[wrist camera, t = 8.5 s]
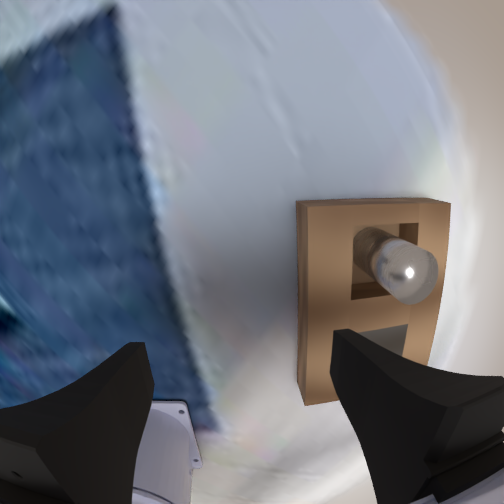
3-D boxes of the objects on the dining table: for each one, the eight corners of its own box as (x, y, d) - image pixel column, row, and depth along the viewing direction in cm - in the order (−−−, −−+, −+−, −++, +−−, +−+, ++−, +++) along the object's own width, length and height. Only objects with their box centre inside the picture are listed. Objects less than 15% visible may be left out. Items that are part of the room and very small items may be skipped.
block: (407, 361, 24) (422, 380, 21) (297, 381, 23) (304, 405, 21) (426, 197, 20) (450, 203, 17) (296, 200, 20) (307, 206, 17)
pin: (388, 266, 21) (435, 298, 15) (350, 272, 21) (390, 309, 15) (388, 224, 20) (440, 246, 14) (349, 229, 20) (393, 253, 14)
